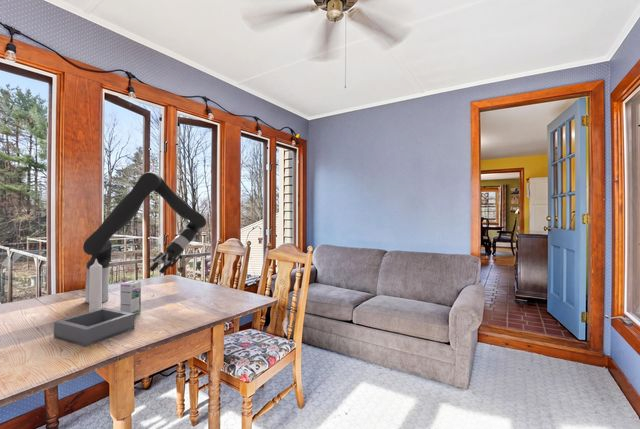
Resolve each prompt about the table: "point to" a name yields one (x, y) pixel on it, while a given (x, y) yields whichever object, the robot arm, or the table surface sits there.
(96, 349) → the table surface
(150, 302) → the table surface
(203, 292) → the table surface
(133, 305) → the syrup box
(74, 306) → the table surface
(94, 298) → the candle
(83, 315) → the box
